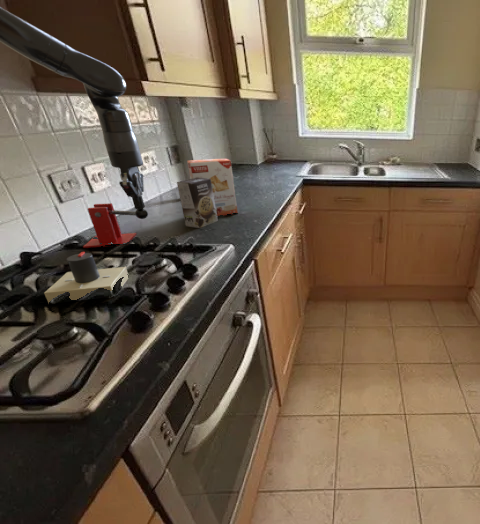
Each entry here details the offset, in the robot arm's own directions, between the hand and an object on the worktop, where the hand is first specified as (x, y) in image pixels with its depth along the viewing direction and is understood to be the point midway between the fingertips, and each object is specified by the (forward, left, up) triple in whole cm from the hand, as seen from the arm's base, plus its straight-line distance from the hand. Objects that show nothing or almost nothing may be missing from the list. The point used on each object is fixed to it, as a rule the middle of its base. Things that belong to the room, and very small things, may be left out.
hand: (140, 208), depth 100 cm
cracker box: (+18, +24, -11) cm, 32 cm away
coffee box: (+14, +12, -11) cm, 21 cm away
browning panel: (-4, -31, -10) cm, 33 cm away
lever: (-5, 0, -3) cm, 6 cm away
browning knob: (-4, -31, -7) cm, 32 cm away
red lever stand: (-10, 0, -10) cm, 14 cm away
